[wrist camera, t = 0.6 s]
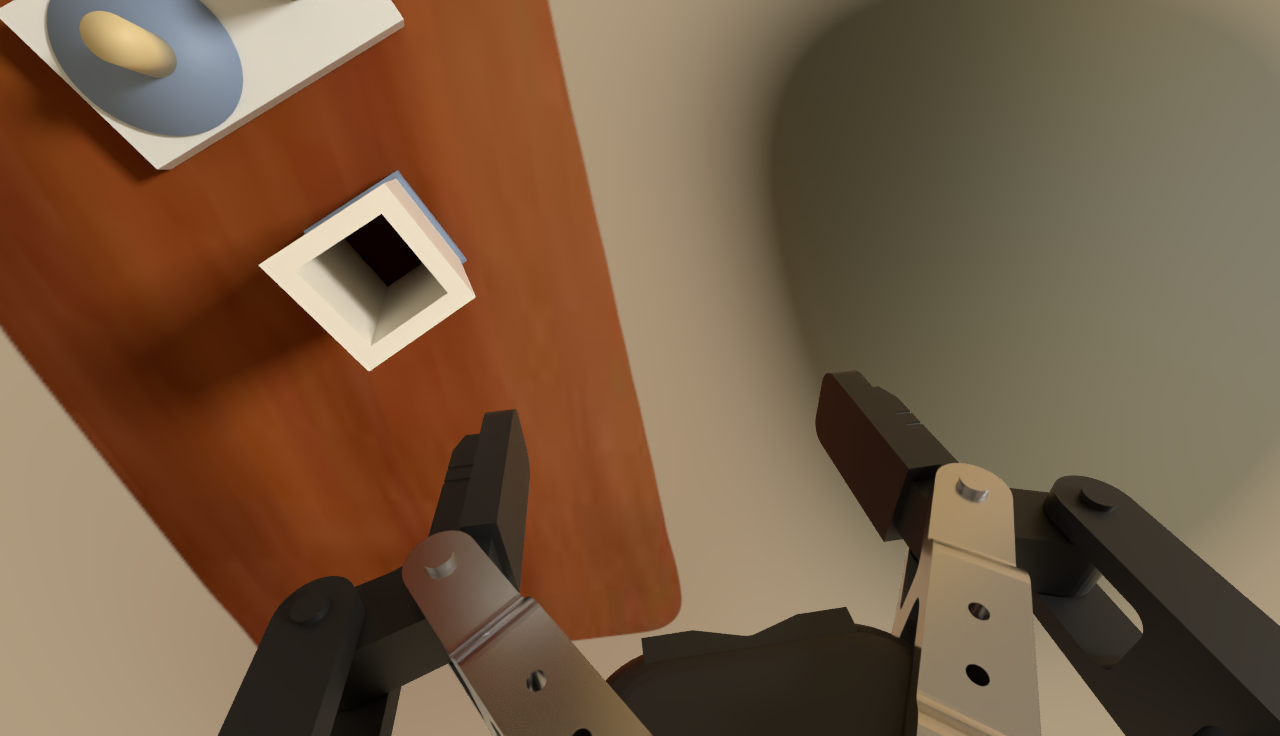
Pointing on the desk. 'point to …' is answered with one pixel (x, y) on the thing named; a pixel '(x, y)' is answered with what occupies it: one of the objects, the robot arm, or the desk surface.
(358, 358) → the sleeve
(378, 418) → the desk surface
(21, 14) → the pin board
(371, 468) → the desk surface
